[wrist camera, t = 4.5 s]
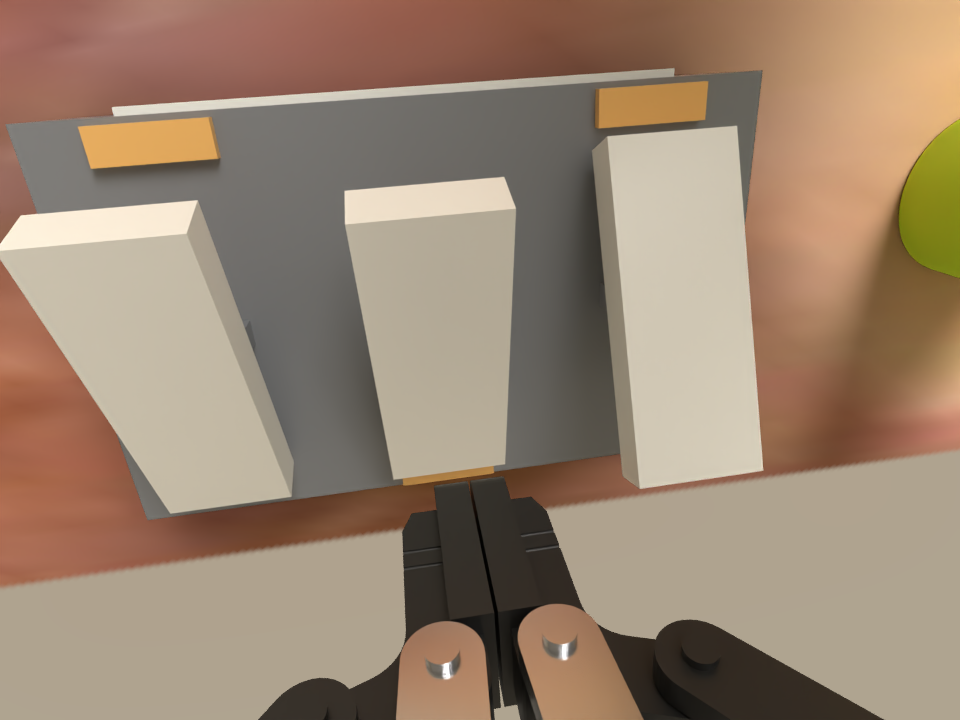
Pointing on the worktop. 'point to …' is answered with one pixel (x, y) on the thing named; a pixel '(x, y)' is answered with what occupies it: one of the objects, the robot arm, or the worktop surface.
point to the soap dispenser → (934, 205)
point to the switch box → (325, 249)
